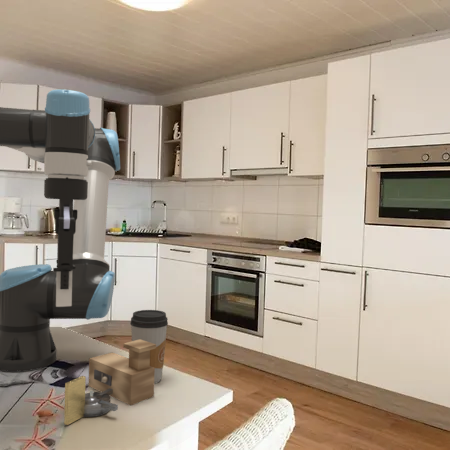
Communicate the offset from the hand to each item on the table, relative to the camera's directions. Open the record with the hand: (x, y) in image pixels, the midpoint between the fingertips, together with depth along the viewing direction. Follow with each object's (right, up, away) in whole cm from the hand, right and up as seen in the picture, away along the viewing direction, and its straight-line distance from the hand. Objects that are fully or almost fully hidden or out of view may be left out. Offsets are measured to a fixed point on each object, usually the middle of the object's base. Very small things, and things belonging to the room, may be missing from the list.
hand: (63, 305), depth 88 cm
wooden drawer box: (+8, -20, +12) cm, 24 cm away
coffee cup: (+12, -20, +19) cm, 30 cm away
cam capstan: (+5, -20, +1) cm, 21 cm away
